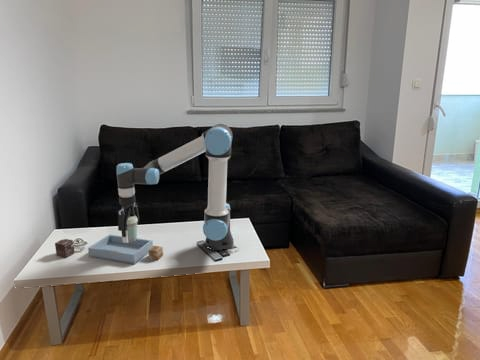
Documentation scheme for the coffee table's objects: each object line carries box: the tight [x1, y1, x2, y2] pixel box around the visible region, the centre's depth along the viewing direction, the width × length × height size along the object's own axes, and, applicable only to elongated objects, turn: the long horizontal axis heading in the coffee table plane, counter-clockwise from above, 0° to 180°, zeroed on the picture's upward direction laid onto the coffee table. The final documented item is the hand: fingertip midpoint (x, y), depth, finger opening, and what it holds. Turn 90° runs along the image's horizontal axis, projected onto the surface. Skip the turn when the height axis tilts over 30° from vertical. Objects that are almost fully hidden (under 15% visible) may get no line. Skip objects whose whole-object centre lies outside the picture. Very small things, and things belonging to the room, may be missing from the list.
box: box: [54, 238, 75, 259], centre depth 190 cm, size 6×6×7 cm
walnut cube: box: [148, 245, 164, 261], centre depth 187 cm, size 5×5×5 cm
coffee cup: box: [126, 215, 138, 242], centre depth 187 cm, size 8×8×12 cm
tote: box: [87, 234, 154, 265], centre depth 192 cm, size 26×17×5 cm, turn 73°
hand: (130, 238), depth 188 cm, fingers closed on coffee cup, 8 cm apart
